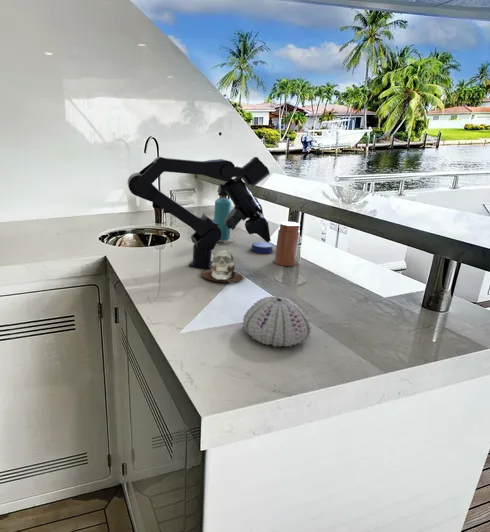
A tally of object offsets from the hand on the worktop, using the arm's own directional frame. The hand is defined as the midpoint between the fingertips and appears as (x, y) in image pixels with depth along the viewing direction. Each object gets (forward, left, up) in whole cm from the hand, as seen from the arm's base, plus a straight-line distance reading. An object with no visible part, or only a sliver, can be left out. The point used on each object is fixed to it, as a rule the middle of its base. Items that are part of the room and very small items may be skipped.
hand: (266, 235), depth 119 cm
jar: (+3, -6, -9) cm, 12 cm away
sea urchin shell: (-47, -7, -10) cm, 48 cm away
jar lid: (+14, +2, -7) cm, 16 cm away
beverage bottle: (+19, +18, -10) cm, 28 cm away
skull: (-18, +10, -10) cm, 22 cm away
